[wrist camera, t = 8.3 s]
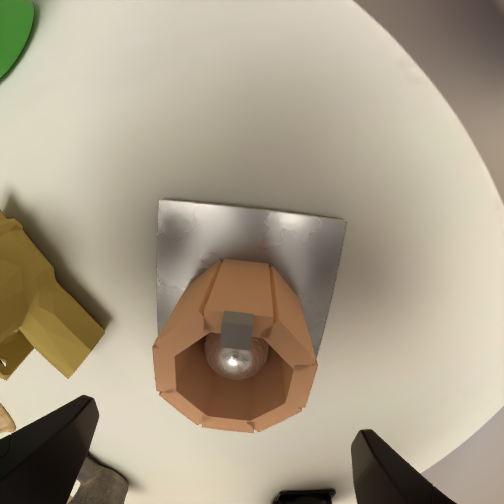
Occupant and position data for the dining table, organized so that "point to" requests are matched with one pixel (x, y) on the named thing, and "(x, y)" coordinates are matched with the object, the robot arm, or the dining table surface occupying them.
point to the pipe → (99, 485)
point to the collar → (236, 337)
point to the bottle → (13, 30)
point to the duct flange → (253, 250)
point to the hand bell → (6, 421)
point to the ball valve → (38, 308)
